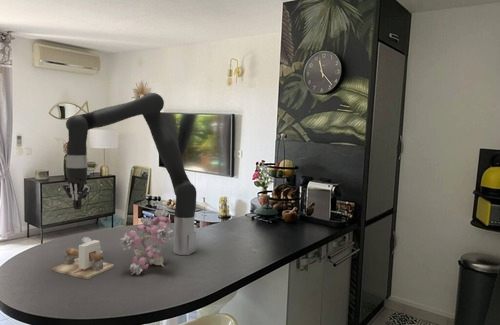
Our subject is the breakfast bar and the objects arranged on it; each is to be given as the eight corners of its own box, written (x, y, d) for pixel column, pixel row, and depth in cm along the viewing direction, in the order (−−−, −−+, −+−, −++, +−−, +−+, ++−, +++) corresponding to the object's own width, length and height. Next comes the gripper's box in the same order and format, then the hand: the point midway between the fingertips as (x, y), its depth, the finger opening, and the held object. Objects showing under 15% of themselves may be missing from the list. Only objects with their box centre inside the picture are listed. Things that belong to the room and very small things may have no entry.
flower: (110, 257, 155) (112, 211, 142) (160, 244, 167) (166, 201, 155) (125, 293, 141) (128, 246, 129) (178, 275, 154) (186, 231, 142)
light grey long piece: (90, 235, 176) (104, 242, 156) (91, 249, 176) (104, 258, 156) (79, 237, 173) (91, 244, 153) (79, 251, 173) (91, 260, 153)
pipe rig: (113, 266, 148) (114, 249, 148) (87, 279, 135) (87, 260, 135) (80, 259, 155) (80, 242, 154) (51, 270, 142) (51, 252, 141)
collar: (100, 262, 147) (100, 241, 146) (84, 269, 140) (84, 246, 139) (94, 261, 148) (94, 239, 147) (78, 268, 141) (78, 245, 140)
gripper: (97, 166, 145) (97, 209, 147) (71, 164, 150) (72, 205, 152) (82, 168, 138) (82, 212, 140) (56, 165, 143) (56, 209, 145)
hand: (77, 209), depth 146 cm, fingers closed
